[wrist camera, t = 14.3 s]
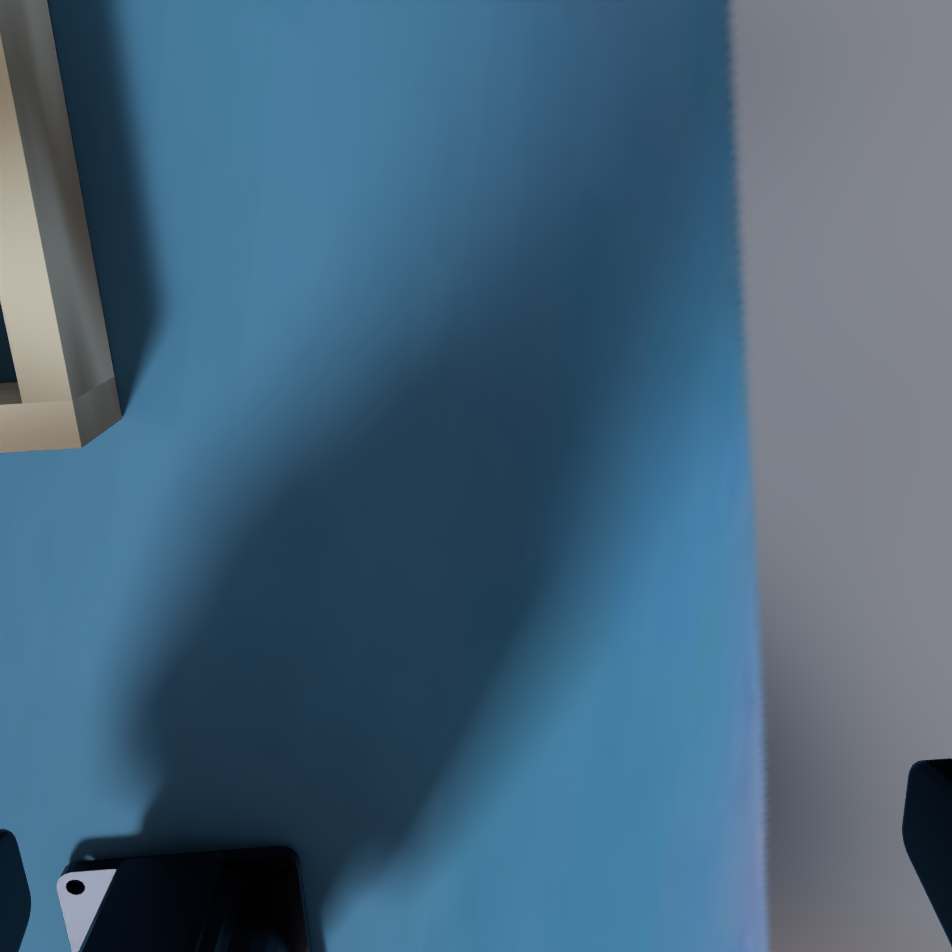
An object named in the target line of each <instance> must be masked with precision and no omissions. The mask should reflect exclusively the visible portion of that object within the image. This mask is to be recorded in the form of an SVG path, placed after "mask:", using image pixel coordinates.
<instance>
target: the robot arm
mask: <svg viewBox="0 0 952 952" xmlns="http://www.w3.org/2000/svg"><path fill="white" fill-rule="evenodd" d="M902 834H903V841H904V845H905V848H906V851H907V854H908V856H909V858H910V860H911V862H912V864H913V866H914V869H915V871H916V873H917V875H918V877H919V879H920V881H921V883H922V885H923V887H924V889H925V892H926V894H927V896H928V898H929V900H930V902H931V904H932V906H933V908H934V910H935V912H936V914H937V917H938V919H939V921H940V923H941V925H942V927H943V929H944V931H945V933H946V936H947V937H948V939H949V942H950V944H951V946H952V759H950V758H949V759H935V760H922V761H918V762H916V763H914V764H913V765H912V767H911V769H910V771H909V776H908V783H907V791H906V799H905V808H904V816H903V824H902ZM275 864H283V865H285V866H286V867H285V868H278V867H276V866H274V865H275ZM73 880H79V881H81V882H82V883H83V884H79V883H76V882H75V881H73ZM57 892H58V896H59V900H60V904H61V908H62V912H63V916H64V920H65V924H66V928H67V933H68V937H69V941H70V945H71V949H72V952H312V946H311V939H310V932H309V924H308V917H307V910H306V902H305V895H304V888H303V881H302V873H301V866H300V859H299V857H298V854H297V853H296V852H295V851H294V850H293V849H291V848H289V847H286V846H273V847H260V848H247V849H234V850H221V851H208V852H195V853H182V854H169V855H156V856H144V857H131V858H118V859H105V860H92V861H79V862H74V863H70V864H69V865H68V866H66V867H65V869H64V871H63V872H62V874H61V876H60V878H59V880H58V882H57ZM30 911H31V896H30V890H29V886H28V883H27V879H26V875H25V871H24V867H23V863H22V859H21V855H20V851H19V848H18V844H17V841H16V838H15V836H14V835H13V834H12V832H10V831H8V830H6V829H0V952H18V951H19V948H20V945H21V943H22V940H23V937H24V934H25V931H26V928H27V925H28V921H29V917H30Z"/></svg>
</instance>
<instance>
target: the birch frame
mask: <svg viewBox="0 0 952 952" xmlns="http://www.w3.org/2000/svg"><path fill="white" fill-rule="evenodd" d="M0 302H1V306H2V311H3V316H4V320H5V325H6V330H7V334H8V339H9V344H10V348H11V353H12V357H13V362H14V367H15V371H16V376H17V381H18V382H12V383H0V453H4V452H20V451H37V450H53V449H69V448H82V447H83V446H85V445H86V444H88V443H89V442H90V441H92V440H93V439H94V438H96V437H97V436H99V435H100V434H101V433H103V432H104V431H106V430H107V429H108V428H110V427H111V426H113V425H114V424H115V423H117V422H118V421H119V420H121V419H122V415H121V410H120V404H119V399H118V393H117V387H116V382H115V376H114V371H113V365H112V360H111V354H110V348H109V343H108V337H107V332H106V326H105V321H104V315H103V309H102V304H101V298H100V293H99V287H98V282H97V276H96V270H95V265H94V259H93V254H92V248H91V243H90V237H89V232H88V226H87V220H86V215H85V209H84V204H83V198H82V193H81V187H80V181H79V176H78V170H77V165H76V159H75V154H74V148H73V142H72V137H71V131H70V126H69V120H68V115H67V109H66V103H65V98H64V92H63V87H62V81H61V76H60V70H59V64H58V59H57V53H56V48H55V42H54V37H53V31H52V25H51V20H50V14H49V9H48V3H47V0H0Z"/></svg>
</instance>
